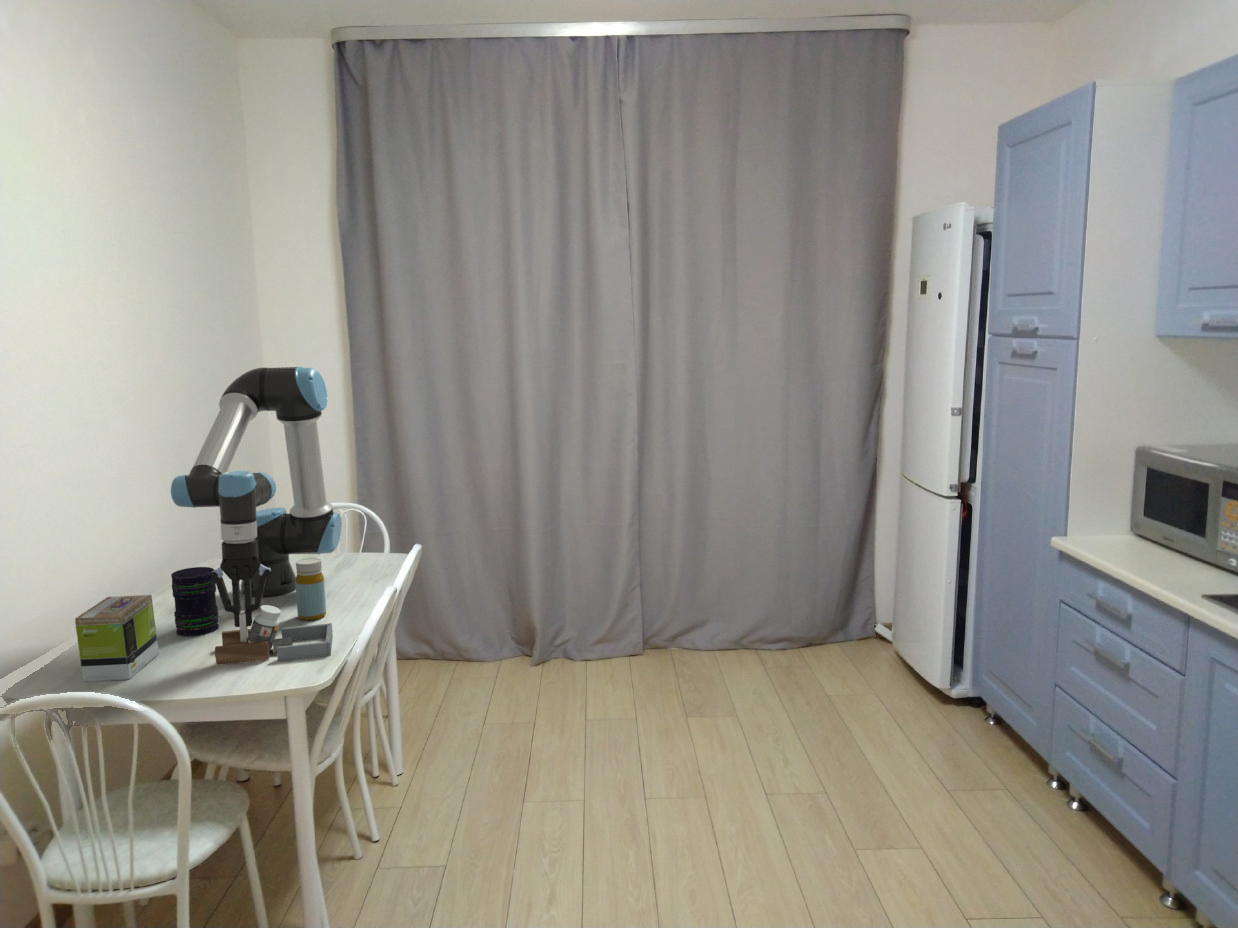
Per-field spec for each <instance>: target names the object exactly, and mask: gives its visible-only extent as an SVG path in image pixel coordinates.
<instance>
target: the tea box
mask: <svg viewBox="0 0 1238 928" xmlns="http://www.w3.org/2000/svg"><path fill="white" fill-rule="evenodd" d="M152 596H153V595H152V594H144V595H143V594H142V595H124V596H122V595H120V596H107V597H105V598H103V600H101V601H100V602H97V604H94V606H92V607H90V608H88V610H86V611H83V613H81V614H80V615H78V616H77V617H75V618H74V621H75V631H76V636H77V645H78V651H79V652H78V653H79V659H80V666H81V669H80V671H81V676H82V681H83V682H85V683H86V682H88V683H89V682H109V681H110V682H112V681H125V680H131V678H132V677H133V676H135V675H136V674H138V672H139V671H141V669H143V668H144V667H145V666H146V665H148V664H149V663H150V662H151V661H152V660H153V659H154V658H156V657H157V656H158V655H159V645H158V644H159V643H158V638H157V628H156V620H155V619H156V618H155V612H154V605H153V604H154V603H153V597H152Z"/></svg>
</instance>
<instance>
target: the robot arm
mask: <svg viewBox="0 0 1238 928" xmlns="http://www.w3.org/2000/svg"><path fill="white" fill-rule="evenodd" d="M327 404H328V393H327V387H326V382H325V380H324V378H323V376H322V374H321V373H320V371H318V370H317V369H316V368H313V367H303V366H287V367H285V366H284V367H257V368H253V369H251V370H249V371H246V372H245V373H243V374H241V375H240V376H238V377H237V378H236V379H235V380H233V381H232V382H231V383H230V384H229V385H228V386H227V388H226V389H225V390H224V392H223V394H222V395H221V397H220V400H219V402H218V406H219V407H218V408H219V411H218V414H217V415H216V417H215V419H214V422H213V424H212V426H211V428H210V430H209V433H208V434H207V436H206V439H205V441H204V443H203V445H202V447H201V448H200V450H199V454H198V455H197V457H196V460H195V462H194V464H193V465H192V468H191V470H190V471H189V474H183V475H177V476H176V477H174V479H173V480H172V482H171V486H170V496H171V499H172V501H173V503H174V504H175V506H178V507H180V508H183V507H184V508H194V509H195V508H216V507H219V513H220V515H219V516H220V538H221V540H222V543H221V557H222V558H221V559H222V560H221V563H220V567H218V568H216V569H214V570H213V571H212V572H211V574H210V576H211V578H212V579H213V580H214V581H215V582H216V589H217V590H218V593H219V596H220V599H221V602H222V604H223V606H222V607H223V608H224V611H225V612H226V613H232V614H233V619H234V627H235V628H239V630H240V642H247V639H248V629H249V627H252V624H253V612H254V611H259V609H260V607H261V603H262V598H264V597H266V598H267V597H274V596H280V595H284V594H288V593H290V592H292V591H296V583H295V582H296V581H295V579H296V576H297V575H296V574H295V571H294V569H293V567H292V564H291V562H290V555H321V554H331V553H333V552H335V550H336V549H337V548H338V546H339V543H340V539H341V535H342V527H343V526H342V523H343V522H342V516H341V514H340V513H339V512H337V511H335V512H334V508H333V507H334V506H333V505H332V503H331V502H329V501H327V497H326V488H325V487H326V486H325V481H324V472H323V471H324V470H323V463H322V455H321V445H320V437H319V430H318V420H319V419H320V417H322V414H323V413H322V412H323V411H324V410H325V409H326V408H327V406H328V405H327ZM260 412H275V415H276V420H277V421H279V422H280V423H281V424H282V425H283V430H284V437H285V438H284V439H285V444H286V452H287V460H288V461H287V462H288V466H289V475H290V480H291V481H290V482H291V488H292V490H291V491H292V498H293V504H294V505H292V507H291V508H290V509H289V513H287V509H286V508H285V507H271V508H265V509H262V510H261V509H260V510H257V507H260V506H263V505H264V504H267V503H268V502H270V500H272V499H273V497H275V494H276V492H277V485H276V481H275V480H274V477H271V475H270V474H268V473H266V472H260V471H259V472H250V471H248V470H247V471H244V470H237V471H228V470H229V467H230V466H231V463H232V461H233V459H234V456H235V454H236V452H237V450H238V447H239V446H240V444H241V441H242V438H243V436H244V435H245V432H246V430H247V427H248V425H249V423H250V421H252V420H254V419H255V418H256V416H257V415H258V413H260ZM224 574H225V575H226V576H227V578H228V579H230V580H231V588H232V590H231V592H232V601H231V598H230V595H229V593H228V590H227V586H226V583H225V580H224V578H223V576H224ZM240 581H241V583H240ZM241 594H242V595H243V596H244V610H241V609H242V607H241V604H242V603H241ZM253 597H255V599H254V602H253Z"/></svg>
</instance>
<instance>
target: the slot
mask: <svg viewBox="0 0 1238 928" xmlns="http://www.w3.org/2000/svg"><path fill="white" fill-rule="evenodd" d="M250 630H251V628H248V636H249V633H250ZM221 642H222V645H219V646H218V645H217V646H215V647H214V653H215V654H214V655H215V665H216V666H221V665H222V666H223V665H224V666H225V665H231V664H242V663H250V662H251V663H252V662H260V661H269V660H270V651H269V647H268V641H265V642H255V643H246V642H240V629H235V630H234V629H233V630H225V631H222V632H221Z"/></svg>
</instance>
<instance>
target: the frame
mask: <svg viewBox="0 0 1238 928" xmlns="http://www.w3.org/2000/svg"><path fill="white" fill-rule="evenodd" d="M333 636H334V635H333V623H332V622H329V623H320V624H311V625H300V626H299V625H298V626H290V627H289V626H287V627H282V628H281V638H289V637H292V640H293V641H298V640H299V641H300V640H308V639H319V638H325V641H320V642H319V641H318V642H310V643H309V642H308V643H299V644H293V645H289V646H279V647H277V654H276V657H277V661H278V662H279V661H280V662H281V661H288V660H289V661H290V660H298V659H299V660H300V659H306V658H307V659H308V658H316V657H317V658H318V657H325V656H326V657H327V656H332V647H333Z"/></svg>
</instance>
